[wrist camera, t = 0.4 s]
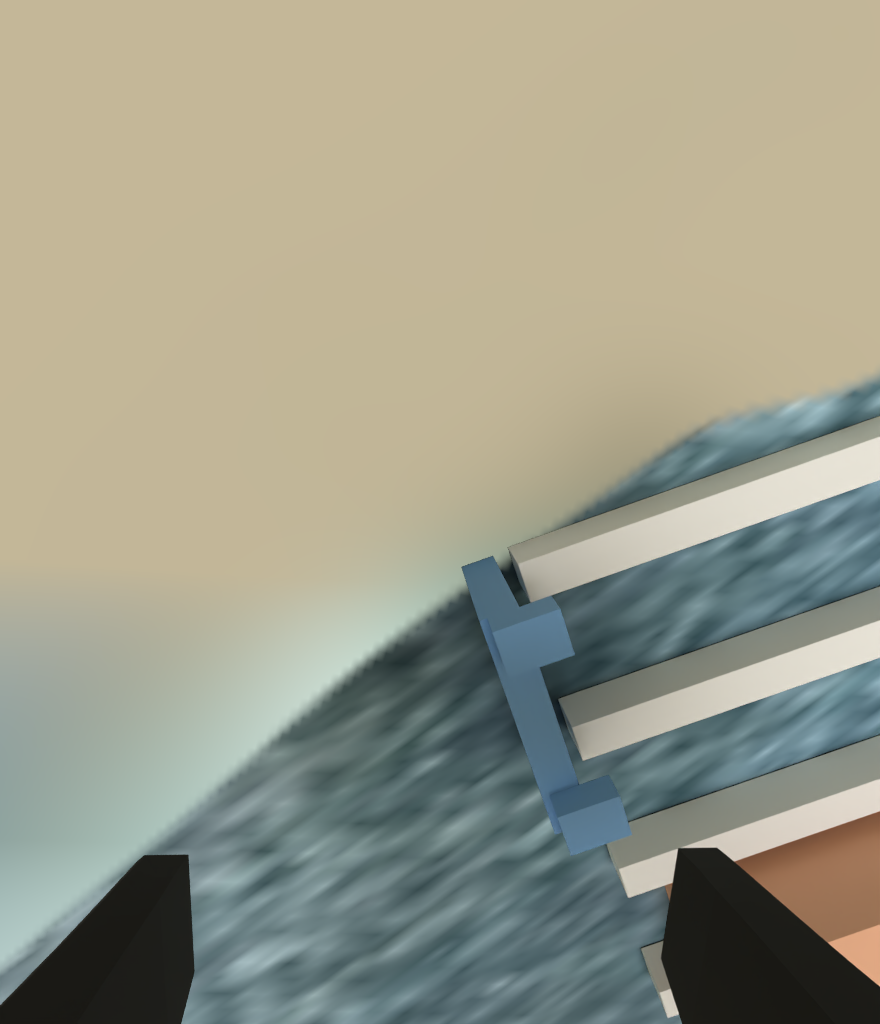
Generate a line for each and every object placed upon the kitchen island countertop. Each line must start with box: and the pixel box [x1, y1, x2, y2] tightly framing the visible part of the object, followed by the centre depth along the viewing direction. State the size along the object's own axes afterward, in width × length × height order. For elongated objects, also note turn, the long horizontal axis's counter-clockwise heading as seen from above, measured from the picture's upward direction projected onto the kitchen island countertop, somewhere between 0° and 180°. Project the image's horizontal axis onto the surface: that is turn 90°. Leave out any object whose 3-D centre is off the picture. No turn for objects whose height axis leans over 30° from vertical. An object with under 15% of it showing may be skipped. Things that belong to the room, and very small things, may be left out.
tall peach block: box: [665, 811, 880, 986], centre depth 19 cm, size 3×9×4 cm, turn 109°
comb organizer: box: [508, 416, 880, 1018], centre depth 19 cm, size 17×13×2 cm
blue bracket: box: [462, 556, 632, 856], centre depth 17 cm, size 6×2×5 cm, turn 19°
